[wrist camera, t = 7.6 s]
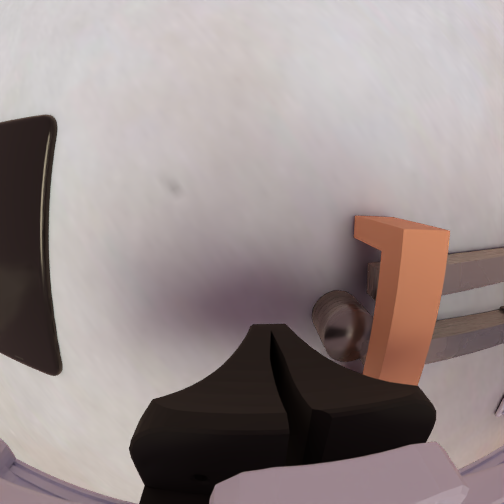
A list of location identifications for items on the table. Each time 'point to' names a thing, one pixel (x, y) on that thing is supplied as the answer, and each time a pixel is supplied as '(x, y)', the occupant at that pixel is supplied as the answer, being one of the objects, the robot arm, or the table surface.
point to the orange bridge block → (403, 294)
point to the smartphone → (27, 243)
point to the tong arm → (458, 271)
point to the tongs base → (360, 324)
